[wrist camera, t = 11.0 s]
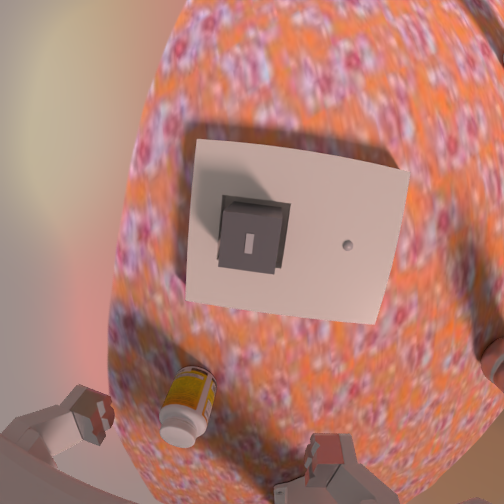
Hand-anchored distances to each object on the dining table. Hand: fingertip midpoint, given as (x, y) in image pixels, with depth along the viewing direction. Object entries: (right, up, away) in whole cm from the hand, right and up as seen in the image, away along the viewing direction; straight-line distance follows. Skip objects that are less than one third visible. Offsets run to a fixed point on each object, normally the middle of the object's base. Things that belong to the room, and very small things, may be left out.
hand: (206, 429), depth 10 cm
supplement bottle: (-5, -10, +27) cm, 29 cm away
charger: (+2, +9, +19) cm, 22 cm away
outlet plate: (+6, +9, +20) cm, 22 cm away
